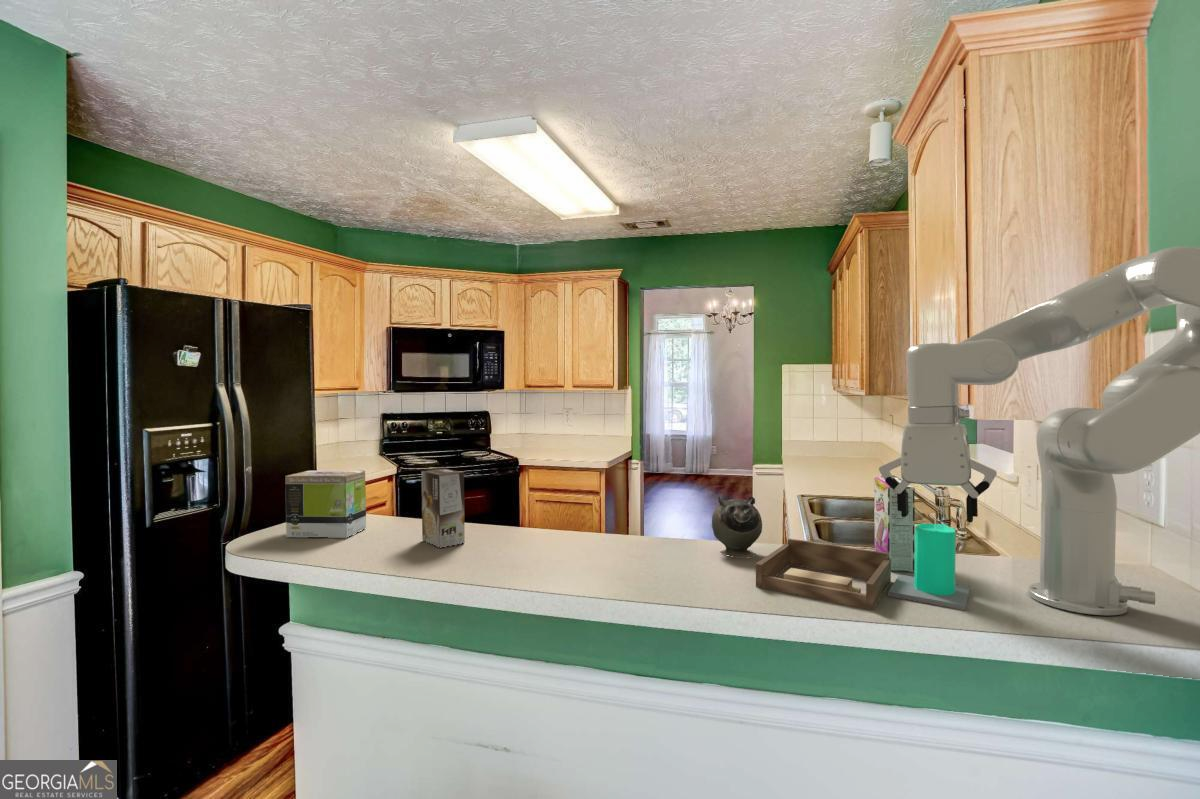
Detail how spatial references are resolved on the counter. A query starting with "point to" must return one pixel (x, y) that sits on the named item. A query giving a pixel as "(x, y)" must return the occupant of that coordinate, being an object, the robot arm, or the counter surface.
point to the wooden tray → (828, 560)
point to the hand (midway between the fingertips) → (936, 518)
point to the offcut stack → (821, 579)
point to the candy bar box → (894, 526)
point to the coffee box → (443, 507)
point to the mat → (906, 590)
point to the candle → (935, 559)
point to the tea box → (325, 503)
